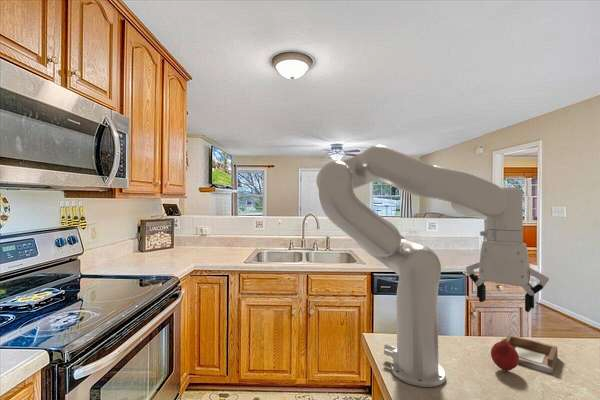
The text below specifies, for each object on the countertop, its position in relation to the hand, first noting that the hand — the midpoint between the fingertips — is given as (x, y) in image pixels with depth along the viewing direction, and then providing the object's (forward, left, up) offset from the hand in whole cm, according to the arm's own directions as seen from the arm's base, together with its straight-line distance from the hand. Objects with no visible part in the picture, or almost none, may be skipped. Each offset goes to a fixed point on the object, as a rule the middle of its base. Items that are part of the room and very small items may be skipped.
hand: (504, 305), depth 75 cm
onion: (0, 0, -16) cm, 16 cm away
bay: (+3, +12, -16) cm, 20 cm away
